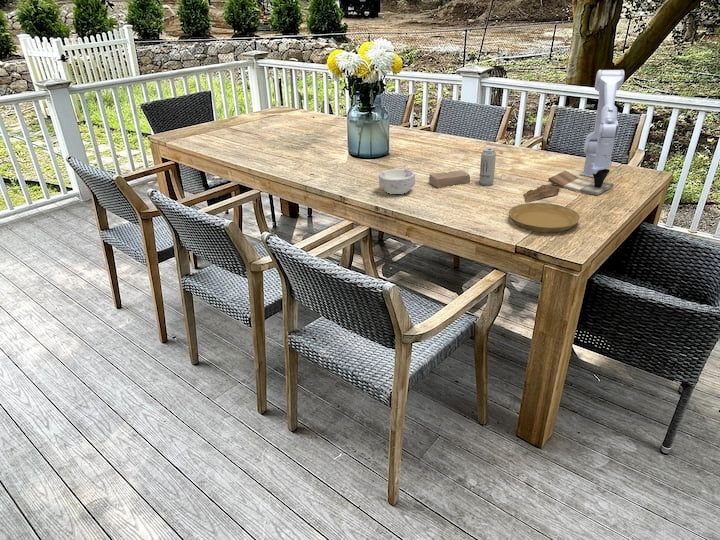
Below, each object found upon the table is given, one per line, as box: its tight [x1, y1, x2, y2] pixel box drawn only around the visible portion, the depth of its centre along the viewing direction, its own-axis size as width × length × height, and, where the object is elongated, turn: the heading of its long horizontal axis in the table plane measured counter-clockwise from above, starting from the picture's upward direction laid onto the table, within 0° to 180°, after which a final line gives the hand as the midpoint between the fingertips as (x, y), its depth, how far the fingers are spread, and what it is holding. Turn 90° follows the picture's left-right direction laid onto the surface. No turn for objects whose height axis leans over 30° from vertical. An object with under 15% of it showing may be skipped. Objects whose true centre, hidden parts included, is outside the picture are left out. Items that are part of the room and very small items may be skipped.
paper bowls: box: [378, 168, 416, 195], centre depth 217 cm, size 15×15×8 cm
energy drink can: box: [478, 147, 497, 187], centre depth 220 cm, size 6×6×15 cm
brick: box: [428, 169, 471, 189], centre depth 225 cm, size 17×8×5 cm, turn 110°
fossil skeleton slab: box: [522, 184, 561, 204], centre depth 210 cm, size 26×11×1 cm, turn 129°
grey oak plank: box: [579, 181, 614, 196], centre depth 211 cm, size 14×7×1 cm, turn 133°
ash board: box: [562, 177, 594, 193], centre depth 216 cm, size 14×7×1 cm, turn 133°
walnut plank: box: [547, 170, 580, 189], centre depth 220 cm, size 14×7×1 cm, turn 133°
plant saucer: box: [508, 202, 581, 233], centre depth 184 cm, size 24×24×3 cm
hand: (597, 186), depth 210 cm, fingers closed, pressing on grey oak plank
